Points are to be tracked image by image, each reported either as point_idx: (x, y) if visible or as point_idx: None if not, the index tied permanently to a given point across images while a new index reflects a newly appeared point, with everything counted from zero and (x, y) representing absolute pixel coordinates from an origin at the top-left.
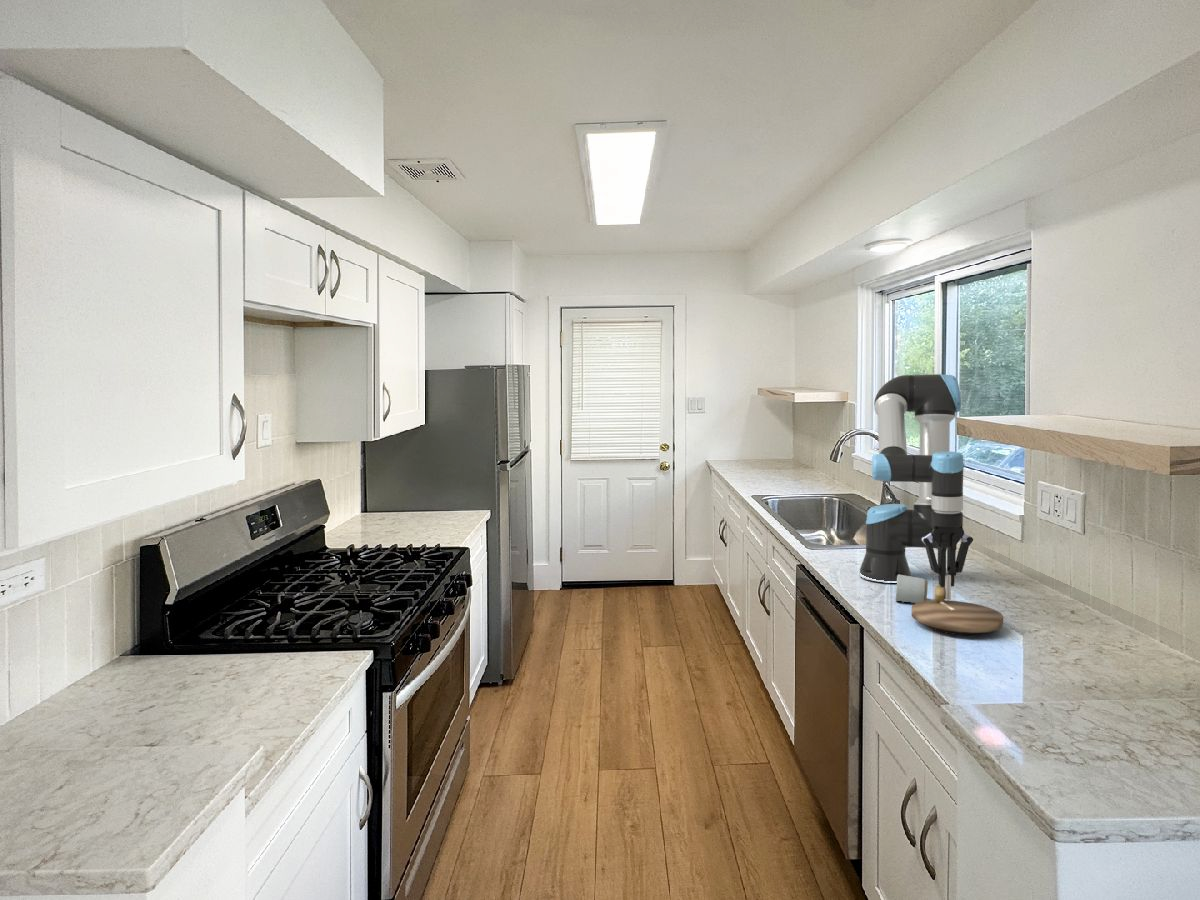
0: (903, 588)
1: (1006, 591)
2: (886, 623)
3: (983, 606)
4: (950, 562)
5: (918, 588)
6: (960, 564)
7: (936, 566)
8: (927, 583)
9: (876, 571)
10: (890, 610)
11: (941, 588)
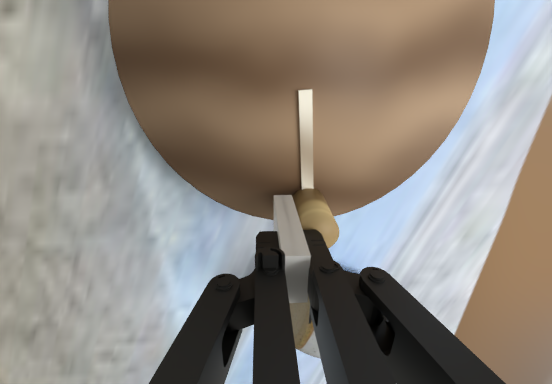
0: None
1: (53, 367)
2: (519, 90)
3: (161, 146)
4: (293, 335)
5: None
6: (214, 320)
7: (394, 300)
8: (304, 320)
9: None
10: (422, 220)
11: (320, 215)
